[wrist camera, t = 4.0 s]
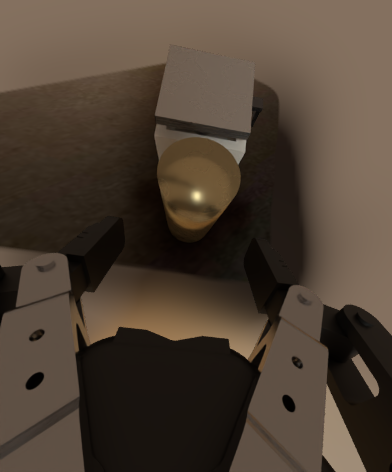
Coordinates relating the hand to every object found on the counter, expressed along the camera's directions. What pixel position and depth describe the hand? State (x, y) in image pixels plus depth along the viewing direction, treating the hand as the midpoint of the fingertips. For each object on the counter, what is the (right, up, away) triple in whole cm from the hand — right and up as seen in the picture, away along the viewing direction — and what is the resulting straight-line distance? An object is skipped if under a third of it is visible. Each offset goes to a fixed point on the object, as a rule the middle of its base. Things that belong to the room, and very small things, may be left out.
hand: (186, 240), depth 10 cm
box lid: (+2, +13, +9) cm, 16 cm away
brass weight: (0, +2, +9) cm, 9 cm away
